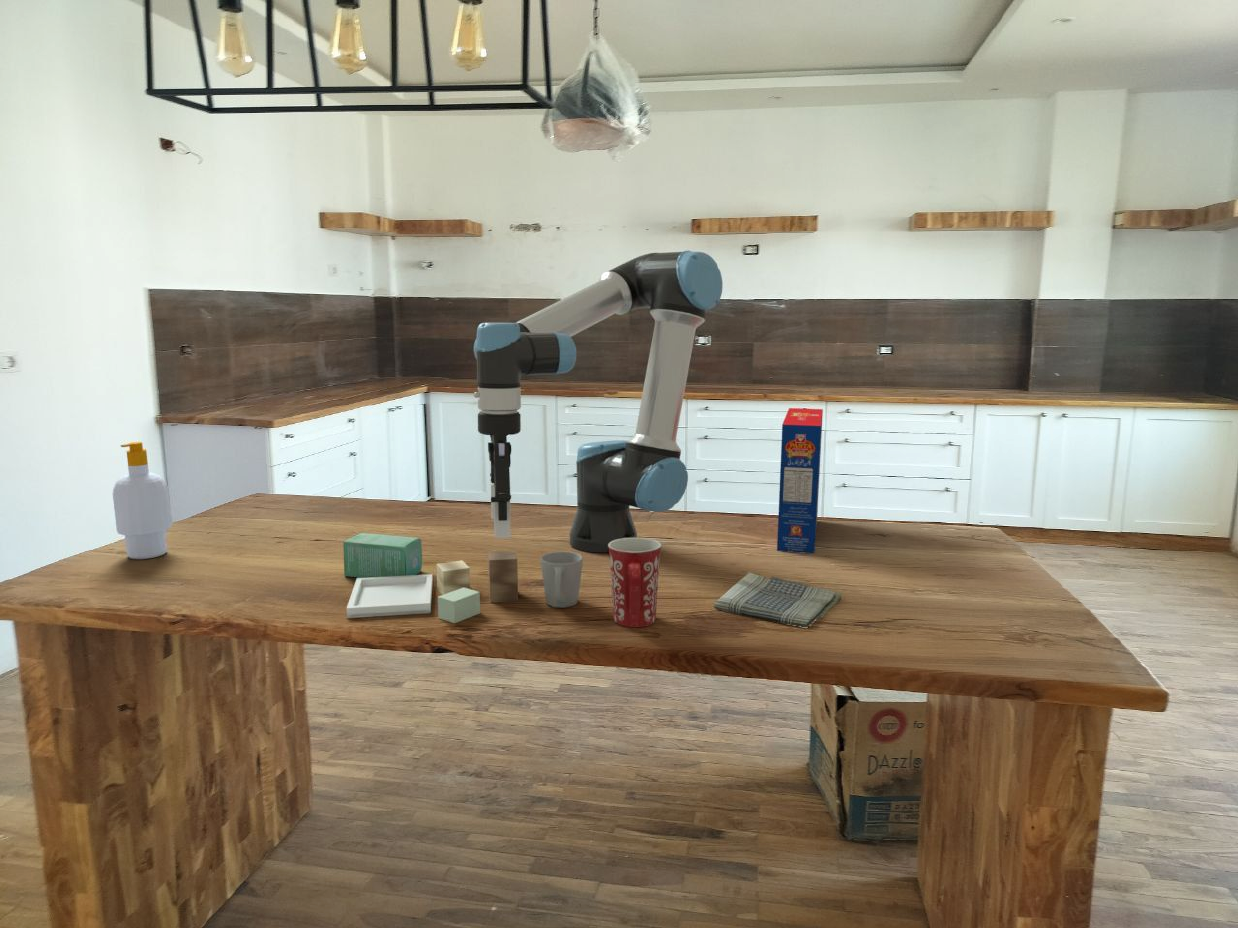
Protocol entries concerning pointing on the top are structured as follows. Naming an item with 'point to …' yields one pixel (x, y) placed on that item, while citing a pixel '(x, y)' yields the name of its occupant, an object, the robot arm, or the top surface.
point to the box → (382, 556)
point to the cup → (561, 578)
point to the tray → (390, 596)
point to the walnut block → (503, 576)
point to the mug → (634, 580)
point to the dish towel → (777, 600)
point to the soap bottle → (142, 507)
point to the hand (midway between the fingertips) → (500, 527)
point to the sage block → (459, 605)
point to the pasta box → (799, 480)
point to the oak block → (452, 576)
